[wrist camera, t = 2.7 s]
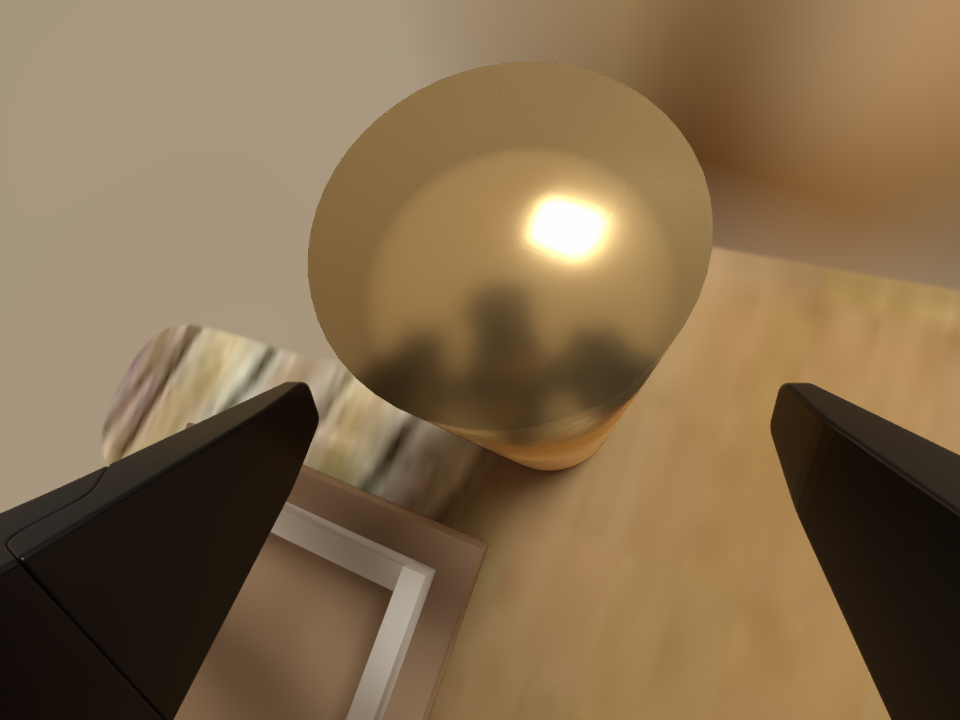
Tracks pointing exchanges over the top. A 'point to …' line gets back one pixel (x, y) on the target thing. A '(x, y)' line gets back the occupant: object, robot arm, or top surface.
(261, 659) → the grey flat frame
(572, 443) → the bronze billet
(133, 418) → the top surface
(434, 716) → the top surface
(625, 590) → the top surface
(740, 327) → the top surface
